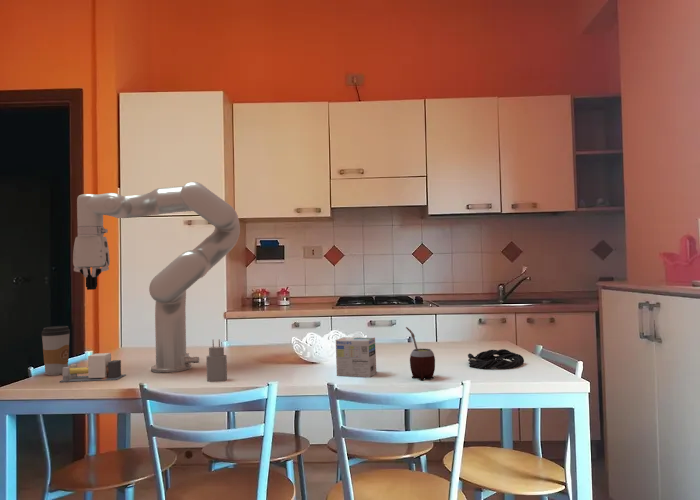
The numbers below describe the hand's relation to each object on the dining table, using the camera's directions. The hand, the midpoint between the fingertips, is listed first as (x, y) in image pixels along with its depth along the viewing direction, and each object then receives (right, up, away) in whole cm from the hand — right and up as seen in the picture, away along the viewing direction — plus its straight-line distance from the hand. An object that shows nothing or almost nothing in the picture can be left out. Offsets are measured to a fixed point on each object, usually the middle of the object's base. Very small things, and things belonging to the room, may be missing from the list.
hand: (91, 289), depth 173 cm
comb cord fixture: (+4, -27, -9) cm, 28 cm away
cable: (+129, -24, -6) cm, 131 cm away
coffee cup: (-12, -28, +2) cm, 30 cm away
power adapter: (+44, -26, -16) cm, 54 cm away
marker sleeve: (+7, -27, -8) cm, 29 cm away
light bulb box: (+85, -25, -13) cm, 90 cm away
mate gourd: (+104, -24, -22) cm, 109 cm away
